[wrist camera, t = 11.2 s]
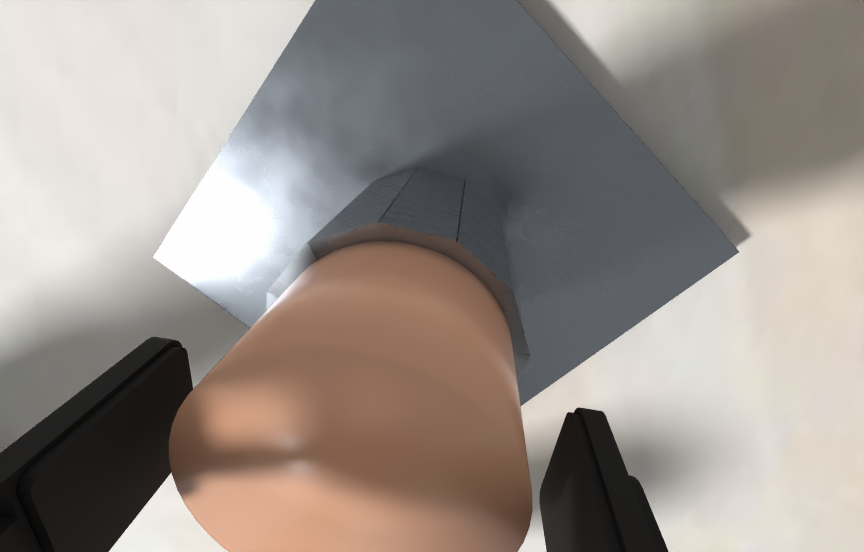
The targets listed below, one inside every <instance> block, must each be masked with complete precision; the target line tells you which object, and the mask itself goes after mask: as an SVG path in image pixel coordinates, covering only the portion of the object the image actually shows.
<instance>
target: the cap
mask: <svg viewBox="0 0 864 552" xmlns="http://www.w3.org/2000/svg"><path fill="white" fill-rule="evenodd" d="M169 461H170V466H171V472H172V476H173V478H174V481H175V484H176V487H177V490H178V492H179V493H180V495H181V497H182V499H183V501H184V503H185V505H186V506H187V508H188V509H189V511H190V512H191V514H192V515H193V516H194V518H195V519H196V521H197V522H198V523H199V524H200V525H201V526H202V527H203V528H204V530H205V531H206V532H207V533H208V534H209V535H210V536H211V537H212V538H213V539H214V540H215V541H217V542H218V543H219V544H220V545H221V546H222V547H223V548H224V549H226V550H227V551H228V552H518V550H519V548H520V547H521V545H522V544H523V542H524V539H525V537H526V534H527V532H528V529H529V526H530V521H531V515H532V490H531V483H530V475H529V468H528V460H527V453H526V445H525V438H524V430H523V423H522V415H521V407H520V400H519V392H518V385H517V377H516V370H515V362H514V355H513V347H512V340H511V335H510V330H509V326H508V323H507V321H506V318H505V315H504V313H503V311H502V309H501V307H500V305H499V304H498V302H497V300H496V299H495V297H494V296H493V295H492V293H491V292H490V291H489V289H488V288H487V287H486V286H485V285H484V284H483V283H482V282H481V281H480V280H479V279H478V278H477V277H476V276H475V275H474V274H473V273H471V272H470V271H469V270H468V269H466V268H465V267H464V266H462V265H461V264H459V263H457V262H456V261H454V260H452V259H451V258H449V257H447V256H445V255H442V254H440V253H438V252H436V251H433V250H431V249H427V248H424V247H421V246H417V245H413V244H407V243H402V242H389V241H376V242H364V243H359V244H354V245H350V246H346V247H343V248H341V249H338V250H335V251H333V252H331V253H329V254H327V255H325V256H323V257H321V258H320V259H318V260H317V261H315V262H314V263H313V264H311V265H310V266H309V267H308V268H307V269H306V270H305V271H304V272H303V273H302V274H301V275H300V276H299V277H298V278H297V279H296V280H295V281H294V282H293V283H292V284H291V285H290V286H289V287H288V288H287V289H286V290H285V292H284V293H283V294H282V295H281V296H280V297H279V298H278V299H277V300H276V301H275V302H274V303H273V304H272V305H271V307H270V308H269V309H268V310H267V311H266V312H265V313H264V314H263V315H262V316H261V317H260V318H259V319H258V320H257V322H256V323H255V324H254V325H253V326H252V327H251V328H250V329H249V330H248V331H247V332H246V333H245V334H244V335H243V337H242V338H241V339H240V340H239V341H238V342H237V343H236V344H235V345H234V346H233V347H232V348H231V349H230V350H229V352H228V353H227V354H226V355H225V356H224V357H223V358H222V359H221V360H220V361H219V362H218V363H217V364H216V365H215V367H214V368H213V369H212V370H211V371H210V372H209V373H208V374H207V375H206V376H205V377H204V378H203V379H202V380H201V382H200V383H199V384H198V385H197V386H196V387H195V388H194V389H193V390H192V391H191V392H190V393H189V394H188V396H187V397H186V399H185V400H184V402H183V403H182V405H181V406H180V408H179V409H178V412H177V414H176V416H175V419H174V421H173V424H172V427H171V433H170V438H169Z"/></svg>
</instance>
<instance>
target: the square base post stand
mask: <svg viewBox="0 0 864 552" xmlns="http://www.w3.org/2000/svg"><path fill="white" fill-rule="evenodd" d="M376 241H389V242H402V243H407V244H413V245H417V246H421V247H424V248H427V249H431V250H433V251H436V252H438V253H440V254H442V255H445V256H447V257H449V258H451V259H452V260H454V261H456V262H457V263H459V264H461V265H462V266H464V267H465V268H466V269H468V270H469V271H470V272H471V273H473V274H474V275H475V276H476V277H477V278H478V279H479V280H480V281H481V282H482V283H483V284H484V285H485V286H486V287H487V288H488V289H489V291H490V292H491V293H492V295H493V296H494V297H495V299H496V300H497V302H498V304H499V305H500V307H501V309H502V311H503V313H504V315H505V318H506V321H507V323H508V326H509V330H510V335H511V340H512V347H513V355H514V362H515V370H516V377H517V385H518V392H519V400H520V406H521V405H523V404H524V403H526V402H527V401H529V400H530V399H531V398H533V397H534V396H536V395H537V394H538V393H540V392H541V391H543V390H544V389H546V388H547V387H548V386H550V385H551V384H553V383H554V382H555V381H557V380H558V379H560V378H561V377H563V376H564V375H565V374H567V373H568V372H570V371H571V370H573V369H574V368H575V367H577V366H578V365H580V364H581V363H582V362H584V361H585V360H587V359H588V358H590V357H591V356H592V355H594V354H595V353H597V352H598V351H599V350H601V349H602V348H604V347H605V346H607V345H608V344H609V343H611V342H612V341H614V340H615V339H617V338H618V337H619V336H621V335H622V334H624V333H625V332H626V331H628V330H629V329H631V328H632V327H634V326H635V325H636V324H638V323H639V322H641V321H642V320H643V319H645V318H646V317H648V316H649V315H651V314H652V313H653V312H655V311H656V310H658V309H659V308H660V307H662V306H663V305H665V304H666V303H668V302H669V301H670V300H672V299H673V298H675V297H676V296H678V295H679V294H680V293H682V292H683V291H685V290H686V289H687V288H689V287H690V286H692V285H693V284H695V283H696V282H697V281H699V280H700V279H702V278H703V277H704V276H706V275H707V274H709V273H710V272H712V271H713V270H714V269H716V268H717V267H719V266H720V265H722V264H723V263H724V262H726V261H727V260H729V259H730V258H731V257H733V256H734V255H736V254H737V253H739V251H738V250H737V249H736V247H735V246H734V245H733V244H732V243H731V242H730V241H729V240H728V238H727V237H726V236H725V235H724V234H723V233H722V232H721V230H720V229H719V228H718V227H717V226H716V225H715V224H714V223H713V221H712V220H711V219H710V218H709V217H708V216H707V215H706V214H705V212H704V211H703V210H702V209H701V208H700V207H699V206H698V204H697V203H696V202H695V201H694V200H693V199H692V198H691V197H690V195H689V194H688V193H687V192H686V191H685V190H684V189H683V188H682V186H681V185H680V184H679V183H678V182H677V181H676V180H675V178H674V177H673V176H672V175H671V174H670V173H669V172H668V171H667V169H666V168H665V167H664V166H663V165H662V164H661V163H660V162H659V160H658V159H657V158H656V157H655V156H654V155H653V154H652V152H651V151H650V150H649V149H648V148H647V147H646V146H645V145H644V143H643V142H642V141H641V140H640V139H639V138H638V137H637V136H636V134H635V133H634V132H633V131H632V130H631V129H630V128H629V126H628V125H627V124H626V123H625V122H624V121H623V120H622V119H621V117H620V116H619V115H618V114H617V113H616V112H615V111H614V110H613V108H612V107H611V106H610V105H609V104H608V103H607V102H606V100H605V99H604V98H603V97H602V96H601V95H600V94H599V93H598V91H597V90H596V89H595V88H594V87H593V86H592V85H591V84H590V82H589V81H588V80H587V79H586V78H585V77H584V76H583V74H582V73H581V72H580V71H579V70H578V69H577V68H576V67H575V65H574V64H573V63H572V62H571V61H570V60H569V59H568V58H567V56H566V55H565V54H564V53H563V52H562V51H561V50H560V48H559V47H558V46H557V45H556V44H555V43H554V42H553V41H552V39H551V38H550V37H549V36H548V35H547V34H546V33H545V32H544V30H543V29H542V28H541V27H540V26H539V25H538V24H537V22H536V21H535V20H534V19H533V18H532V17H531V16H530V15H529V13H528V12H527V11H526V10H525V9H524V8H523V7H522V6H521V4H520V3H519V2H518V1H517V0H315V2H314V3H313V5H312V7H311V8H310V10H309V11H308V13H307V15H306V16H305V18H304V19H303V21H302V22H301V24H300V26H299V27H298V29H297V30H296V32H295V34H294V35H293V37H292V38H291V40H290V42H289V43H288V45H287V46H286V48H285V49H284V51H283V53H282V54H281V56H280V57H279V59H278V61H277V62H276V64H275V65H274V67H273V69H272V70H271V72H270V73H269V75H268V76H267V78H266V80H265V81H264V83H263V84H262V86H261V88H260V89H259V91H258V92H257V94H256V95H255V97H254V99H253V100H252V102H251V103H250V105H249V107H248V108H247V110H246V111H245V113H244V115H243V116H242V118H241V119H240V121H239V122H238V124H237V126H236V127H235V129H234V130H233V132H232V134H231V135H230V137H229V138H228V140H227V142H226V143H225V145H224V146H223V148H222V149H221V151H220V153H219V154H218V156H217V157H216V159H215V161H214V162H213V164H212V165H211V167H210V169H209V170H208V172H207V173H206V175H205V176H204V178H203V180H202V181H201V183H200V184H199V186H198V188H197V189H196V191H195V192H194V194H193V196H192V197H191V199H190V200H189V202H188V203H187V205H186V207H185V208H184V210H183V211H182V213H181V215H180V216H179V218H178V219H177V221H176V222H175V224H174V226H173V227H172V229H171V230H170V232H169V234H168V235H167V237H166V238H165V240H164V242H163V243H162V245H161V246H160V248H159V249H158V251H157V253H156V254H155V256H154V258H156V259H157V260H158V261H160V262H161V263H162V264H164V265H165V266H167V267H168V268H169V269H171V270H172V271H173V272H175V273H176V274H177V275H179V276H180V277H181V278H183V279H184V280H186V281H187V282H188V283H190V284H191V285H192V286H194V287H195V288H196V289H198V290H199V291H200V292H202V293H203V294H205V295H206V296H207V297H209V298H210V299H211V300H213V301H214V302H215V303H217V304H218V305H219V306H221V307H222V308H224V309H225V310H226V311H228V312H229V313H230V314H232V315H233V316H234V317H236V318H237V319H239V320H240V321H241V322H243V323H244V324H245V325H247V326H248V327H249V328H251V327H252V326H253V325H254V324H255V323H256V322H257V320H258V319H259V318H260V317H261V316H262V315H263V314H264V313H265V312H266V311H267V310H268V309H269V308H270V307H271V305H272V304H273V303H274V302H275V301H276V300H277V299H278V298H279V297H280V296H281V295H282V294H283V293H284V292H285V290H286V289H287V288H288V287H289V286H290V285H291V284H292V283H293V282H294V281H295V280H296V279H297V278H298V277H299V276H300V275H301V274H302V273H303V272H304V271H305V270H306V269H307V268H308V267H309V266H310V265H311V264H313V263H314V262H315V261H317V260H318V259H320V258H321V257H323V256H325V255H327V254H329V253H331V252H333V251H335V250H338V249H341V248H343V247H346V246H350V245H354V244H359V243H364V242H376Z"/></svg>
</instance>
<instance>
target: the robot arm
mask: <svg viewBox="0 0 864 552" xmlns="http://www.w3.org/2000/svg"><path fill="white" fill-rule="evenodd" d="M192 390H193V386H192V380H191V373H190V367H189V361H188V354H187V351H186V349H185V348H182V345H181V343H180V342H179V341H176V340H171V339H165V338H159V337H151V338H149V339H148V340H146V341H145V342H144V343H142V344H141V345H140V346H138V347H137V348H136V349H134V350H133V351H132V352H131V353H129V354H128V355H127V356H125V357H124V358H123V359H122V360H120V361H119V362H118V363H116V364H115V365H114V366H112V367H111V368H110V369H109V370H107V371H106V372H105V373H103V374H102V375H101V376H99V377H98V378H97V379H96V380H94V381H93V382H92V383H90V384H89V385H88V386H87V387H85V388H84V389H83V390H81V391H80V392H79V393H77V394H76V395H75V396H74V397H72V398H71V399H70V400H68V401H67V402H66V403H65V404H63V405H62V406H61V407H59V408H58V409H57V410H55V411H54V412H53V413H52V414H50V415H49V416H48V417H46V418H45V419H44V420H42V421H41V422H40V423H39V424H37V425H36V426H35V427H33V428H32V429H31V430H30V431H28V432H27V433H26V434H24V435H23V436H22V437H20V438H19V439H18V440H17V441H15V442H14V443H13V444H11V445H10V446H9V447H7V448H6V449H5V450H4V451H2V452H1V453H0V552H109V550H110V549H111V548H112V547H113V545H114V544H115V543H116V542H117V540H118V539H119V538H120V536H121V535H122V534H123V533H124V531H125V530H126V529H127V528H128V526H129V525H130V524H131V523H132V521H133V520H134V519H135V518H136V516H137V515H138V514H139V512H140V511H141V510H142V509H143V507H144V506H145V505H146V504H147V502H148V501H149V500H150V499H151V497H152V496H153V495H154V493H155V492H156V491H157V490H158V488H159V487H160V486H161V485H162V483H163V482H164V481H165V480H166V478H167V477H168V476H169V475H170V473H171V466H170V461H169V438H170V433H171V427H172V424H173V421H174V419H175V416H176V414H177V412H178V409H179V408H180V406H181V405H182V403H183V402H184V400H185V399H186V397H187V396H188V394H189V393H190V392H191V391H192ZM540 509H541V516H542V523H543V529H544V536H545V543H546V550H547V552H668V549H667V547H666V544H665V542H664V539H663V537H662V535H661V532H660V530H659V527H658V525H657V522H656V520H655V517H654V515H653V512H652V510H651V508H650V505H649V503H648V500H647V498H646V495H645V493H644V490H643V488H642V486H641V484H640V482H639V481H638V480H637V479H636V478H635V477H633V476H629V475H628V473H627V470H626V467H625V465H624V462H623V460H622V457H621V454H620V452H619V449H618V447H617V444H616V441H615V439H614V436H613V434H612V431H611V429H610V426H609V423H608V421H607V418H606V416H605V414H604V413H603V412H602V411H597V410H591V409H585V408H577V409H576V410H575V412H574V413H571V412H568V413H567V415H566V417H565V420H564V423H563V426H562V429H561V431H560V434H559V437H558V440H557V443H556V446H555V449H554V451H553V454H552V457H551V460H550V463H549V466H548V469H547V471H546V474H545V477H544V480H543V483H542V486H541V489H540Z"/></svg>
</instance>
